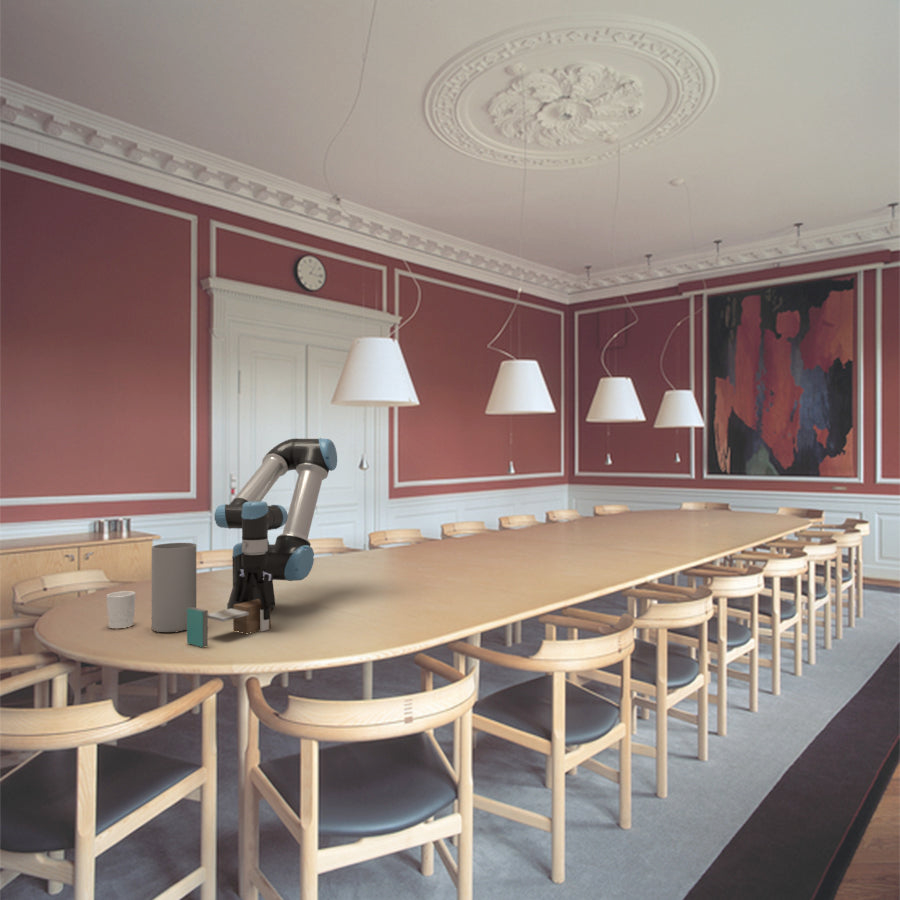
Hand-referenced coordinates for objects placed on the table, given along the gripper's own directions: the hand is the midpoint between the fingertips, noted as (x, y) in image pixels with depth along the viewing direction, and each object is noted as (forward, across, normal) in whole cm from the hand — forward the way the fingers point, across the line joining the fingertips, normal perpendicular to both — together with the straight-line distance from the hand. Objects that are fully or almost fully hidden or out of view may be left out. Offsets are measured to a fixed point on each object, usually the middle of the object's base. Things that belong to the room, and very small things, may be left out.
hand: (254, 627), depth 198 cm
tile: (0, 0, -20) cm, 20 cm away
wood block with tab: (0, 0, -5) cm, 5 cm away
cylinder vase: (0, -21, -13) cm, 25 cm away
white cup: (0, -36, -21) cm, 42 cm away
